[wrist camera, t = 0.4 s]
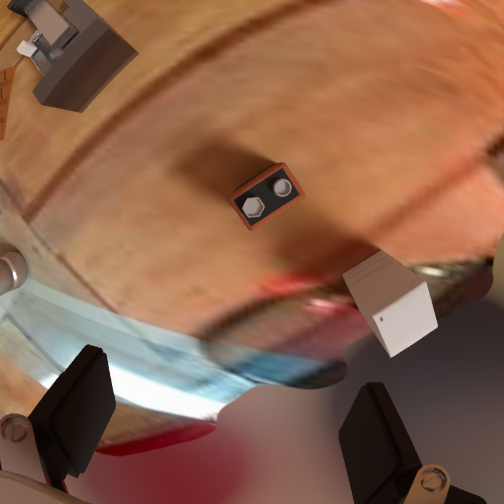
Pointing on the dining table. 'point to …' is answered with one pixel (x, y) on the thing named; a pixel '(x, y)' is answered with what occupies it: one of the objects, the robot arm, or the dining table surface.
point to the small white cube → (26, 48)
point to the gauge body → (80, 60)
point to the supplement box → (391, 301)
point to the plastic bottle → (12, 271)
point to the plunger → (44, 21)
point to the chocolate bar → (5, 96)
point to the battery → (266, 196)
